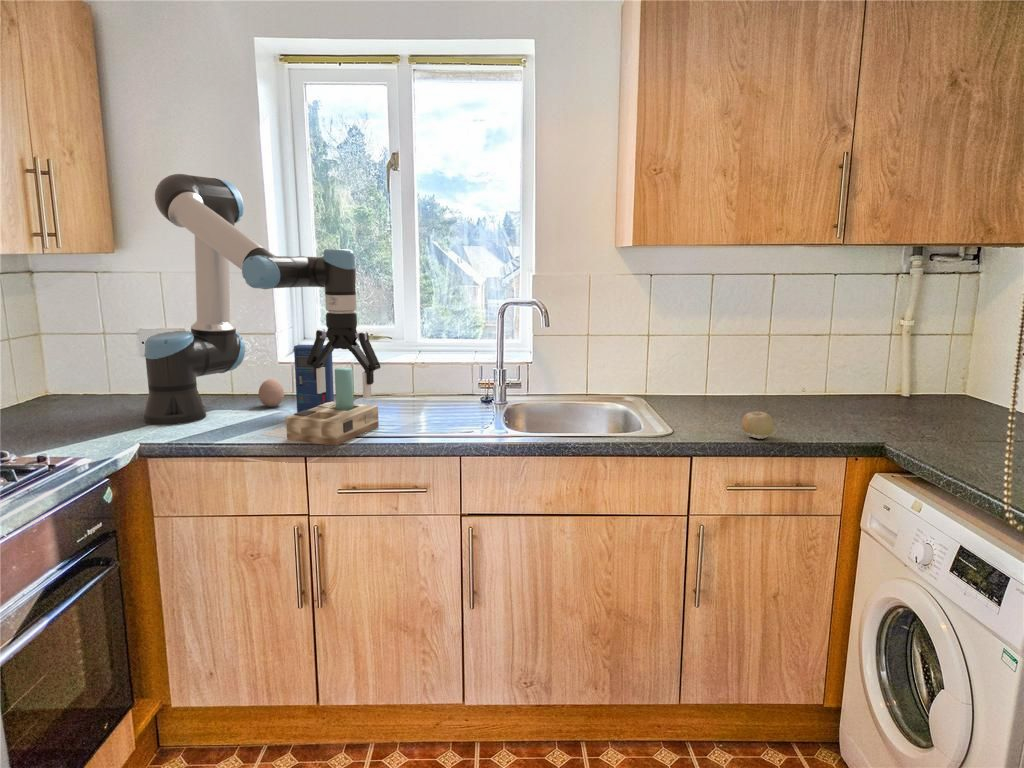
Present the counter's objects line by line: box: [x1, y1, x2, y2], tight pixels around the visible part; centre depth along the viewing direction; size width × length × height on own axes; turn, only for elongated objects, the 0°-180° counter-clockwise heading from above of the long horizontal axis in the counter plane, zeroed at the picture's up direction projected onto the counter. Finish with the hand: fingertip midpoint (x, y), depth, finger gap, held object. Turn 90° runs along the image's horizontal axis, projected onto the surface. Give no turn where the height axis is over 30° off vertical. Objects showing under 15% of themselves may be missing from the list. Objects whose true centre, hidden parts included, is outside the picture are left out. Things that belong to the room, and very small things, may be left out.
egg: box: [257, 378, 285, 408], centre depth 191 cm, size 7×7×8 cm
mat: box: [260, 426, 287, 439], centre depth 162 cm, size 8×8×1 cm
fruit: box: [741, 408, 774, 436], centre depth 165 cm, size 8×7×8 cm
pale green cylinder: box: [334, 367, 355, 411], centre depth 165 cm, size 4×4×14 cm
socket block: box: [285, 401, 379, 447], centre depth 162 cm, size 14×19×6 cm
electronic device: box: [293, 344, 335, 413], centre depth 179 cm, size 10×5×20 cm, turn 91°
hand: (344, 394), depth 165 cm, fingers open, 13 cm apart
